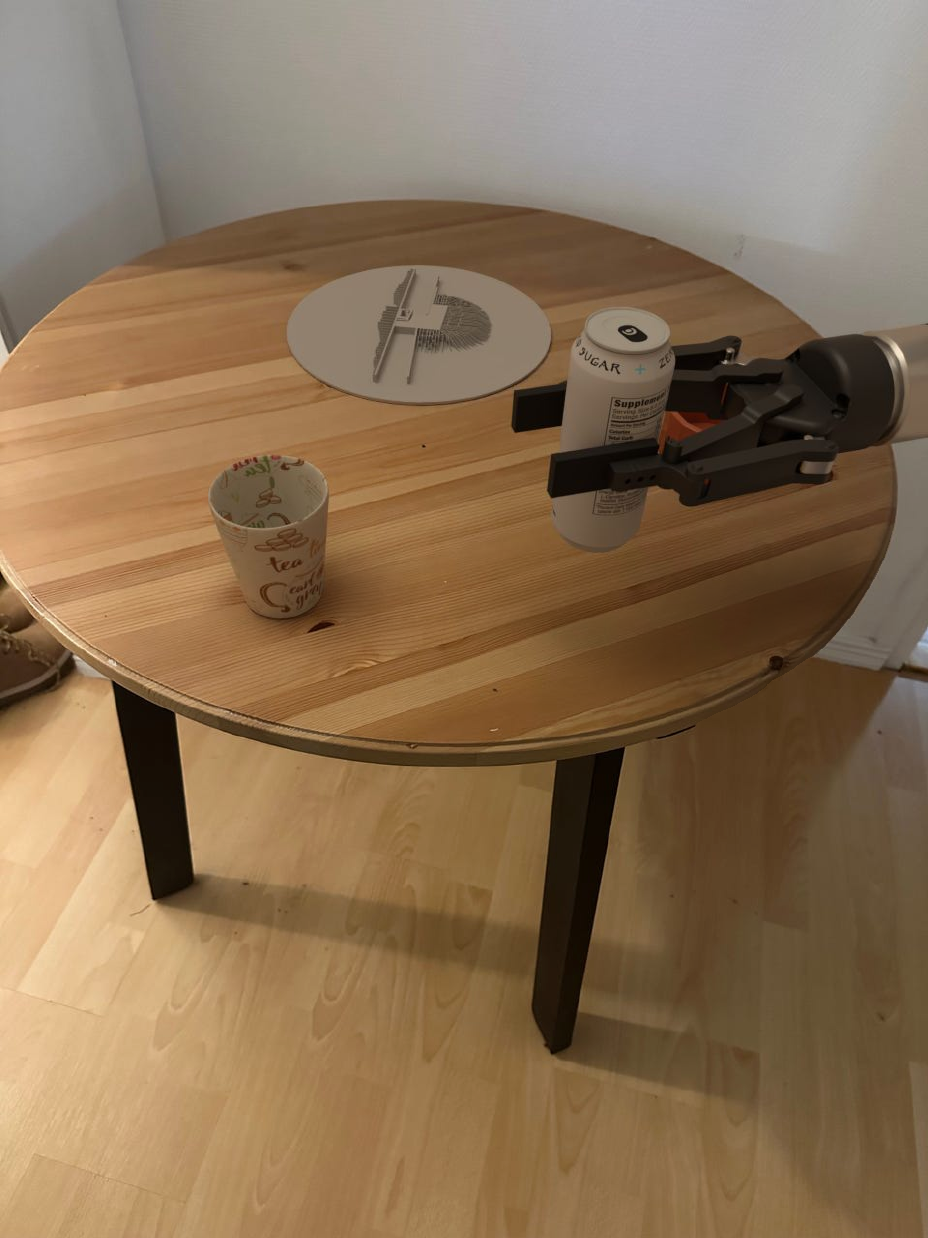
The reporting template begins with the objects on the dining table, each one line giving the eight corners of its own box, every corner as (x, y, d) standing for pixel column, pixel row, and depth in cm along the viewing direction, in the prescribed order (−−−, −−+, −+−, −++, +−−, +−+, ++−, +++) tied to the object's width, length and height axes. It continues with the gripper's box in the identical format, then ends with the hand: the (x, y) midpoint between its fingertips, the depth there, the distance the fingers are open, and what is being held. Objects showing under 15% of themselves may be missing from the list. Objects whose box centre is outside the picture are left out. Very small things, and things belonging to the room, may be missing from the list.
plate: (325, 256, 112) (324, 246, 111) (561, 281, 110) (563, 271, 109) (251, 386, 93) (250, 376, 92) (536, 420, 91) (537, 409, 90)
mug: (233, 638, 70) (211, 536, 63) (222, 528, 79) (201, 427, 71) (345, 621, 72) (336, 520, 65) (322, 515, 80) (312, 415, 73)
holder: (778, 454, 88) (793, 408, 84) (723, 498, 83) (737, 452, 80) (695, 412, 92) (706, 367, 89) (638, 452, 88) (648, 406, 84)
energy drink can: (603, 490, 68) (637, 292, 57) (656, 540, 64) (703, 339, 53) (532, 516, 65) (553, 316, 55) (583, 570, 62) (617, 367, 51)
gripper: (927, 526, 59) (581, 593, 54) (775, 365, 72) (482, 408, 67) (978, 426, 54) (599, 490, 49) (804, 270, 66) (487, 309, 61)
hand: (532, 442), depth 58 cm, fingers closed on energy drink can, 6 cm apart
